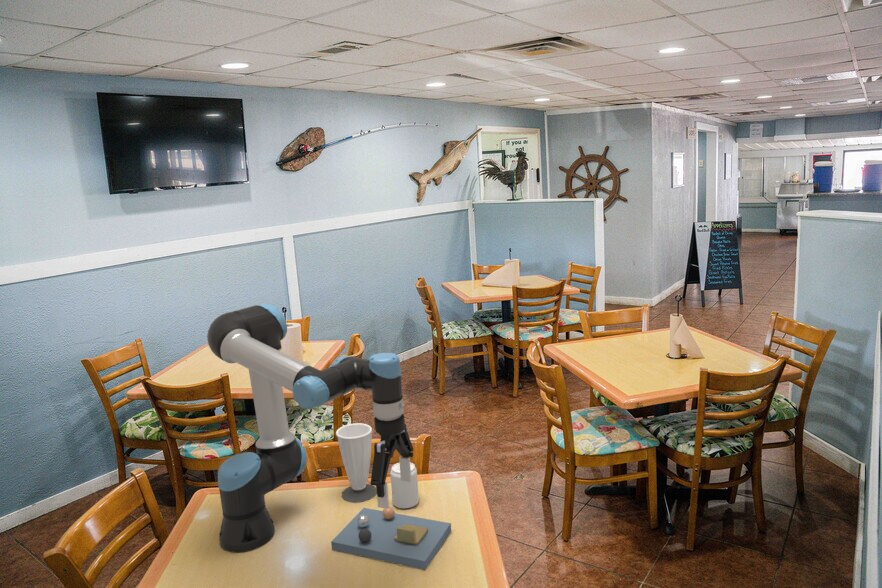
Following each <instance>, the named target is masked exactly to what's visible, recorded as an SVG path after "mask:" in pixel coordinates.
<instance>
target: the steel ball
mask: <svg viewBox="0 0 882 588" xmlns="http://www.w3.org/2000/svg"><path fill="white" fill-rule="evenodd" d="M368 524H369V518H368V516H366V515H360V516H359V517H358V518H357V525H358V526H359V527H361V528H365V527H366V526H368Z"/></svg>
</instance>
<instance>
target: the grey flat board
mask: <svg viewBox="0 0 882 588" xmlns="http://www.w3.org/2000/svg"><path fill="white" fill-rule="evenodd" d="M382 512H383V510H379V509H374V508H369V507H362V509H361V510H359V512H358V513H357V514H355V516H354V517H353V518H352V519H351V520H350V522H348V523H347V525H346V526H345V527H344V528H343V529H342V530H340V532H339V533H338V534H337V535H336V536H335V537H334V538H333V539H332V540H331V551H336V552H340V553H344V554H350V555H354V556H359V557H363V558H369V559H372V560H378V561H380V562H381V561H382V562H387V563H392V564H396V565H401V566H406V567H411V568H415V569H420V570H424V571H426V570H427V569H428V567H429V566H430V564H431V563H432V561H433V560H434V559H435V557H436V555H437V553H438V552H439V550H440V549H441V547H442V546H443V544H444V543H445V541H446V540H447V538H448V537H449V535H450V533H452V523H451V522H446V521H440V520H435V519H428V518H425V517H423V518H422V517H419V516H413V515H406V514H401V513H396V512H395V514H394V516H393V518H391V519H385V518H384V517H383V514H382ZM360 515H366V516H368V518H369V524H368V526H366V527H365V528H361V527H359V526H358V525H357V518H358V517H359V516H360ZM405 524H409V525H414V526H419V527H425V528H428V532H427V533H426V535H425V536H424V537H423V539H422V540H421V542H420V543H419V544H418V545H414V544H409V543H404V542H399V541H394V537H395V536H396V535H397V527H398V526H399V527H403V526H404V525H405ZM362 529H368V530H370V532H371V539H370V540H369V541H368V542H361V541H360V540H359V537H358V535H359V532H360V531H361V530H362Z"/></svg>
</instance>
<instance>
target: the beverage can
mask: <svg viewBox="0 0 882 588" xmlns="http://www.w3.org/2000/svg"><path fill="white" fill-rule="evenodd" d="M410 469H411V482H407V481H401V475H400V462H397V463H394V464H393V465H392V466H391V470H390V487H391V497H392V504H393V506H395V507H396V508H398V509H410V508H413V507H414V506H416V505H418V503H419V501H420V499H419V485H418V484H419V483H418V482H419V481H418V469H417V467H416V466H415V463H413V462H411V461H410Z"/></svg>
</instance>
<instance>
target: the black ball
mask: <svg viewBox="0 0 882 588" xmlns="http://www.w3.org/2000/svg"><path fill="white" fill-rule="evenodd" d="M358 537H359V540H360V541H361V542H368V541H369V540H370V539H371V532H370V530H368V529H362V530H361V531H360V532H359V535H358Z"/></svg>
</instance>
